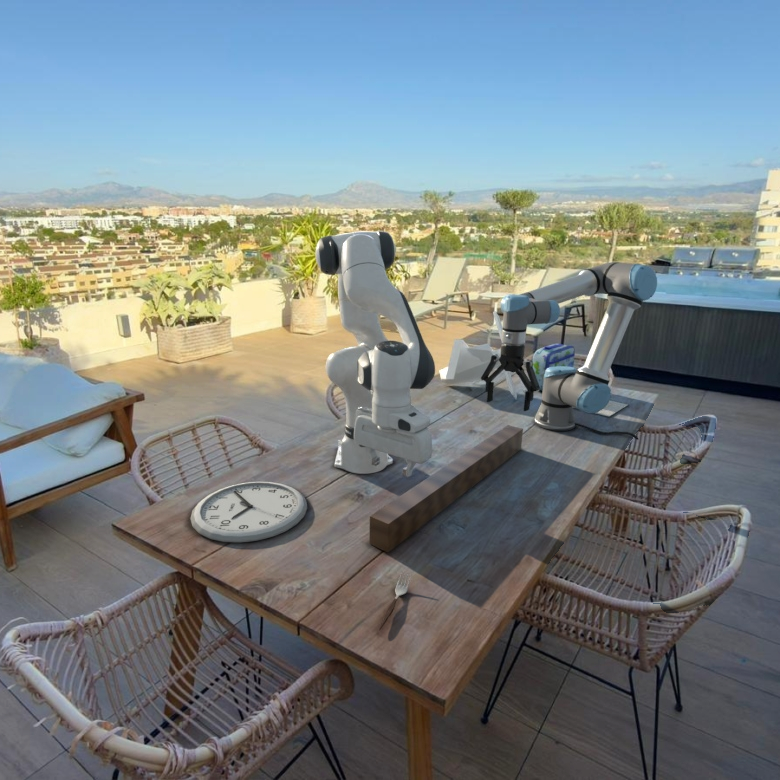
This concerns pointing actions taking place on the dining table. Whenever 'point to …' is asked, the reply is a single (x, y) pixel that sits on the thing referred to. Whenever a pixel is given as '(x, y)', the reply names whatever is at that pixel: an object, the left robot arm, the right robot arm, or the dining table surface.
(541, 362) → the lunch box
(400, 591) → the fork
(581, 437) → the dining table surface
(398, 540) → the beam
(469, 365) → the white plastic object
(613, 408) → the invitation card
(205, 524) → the wall clock
